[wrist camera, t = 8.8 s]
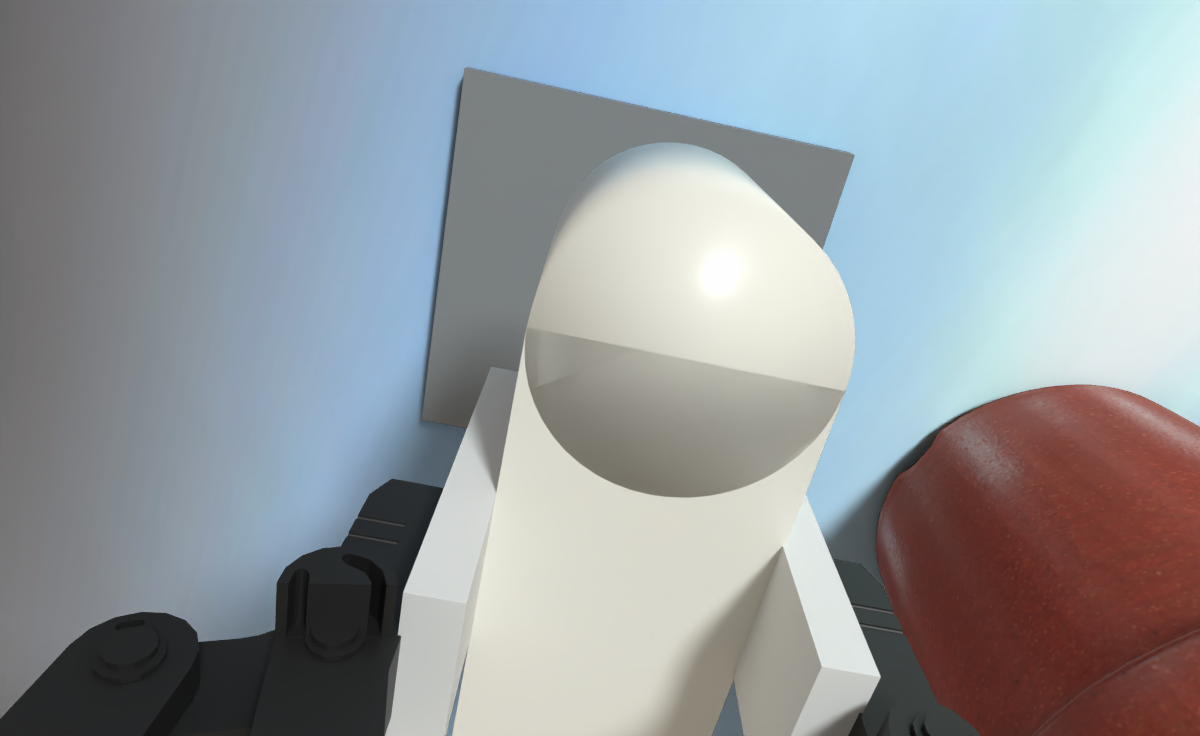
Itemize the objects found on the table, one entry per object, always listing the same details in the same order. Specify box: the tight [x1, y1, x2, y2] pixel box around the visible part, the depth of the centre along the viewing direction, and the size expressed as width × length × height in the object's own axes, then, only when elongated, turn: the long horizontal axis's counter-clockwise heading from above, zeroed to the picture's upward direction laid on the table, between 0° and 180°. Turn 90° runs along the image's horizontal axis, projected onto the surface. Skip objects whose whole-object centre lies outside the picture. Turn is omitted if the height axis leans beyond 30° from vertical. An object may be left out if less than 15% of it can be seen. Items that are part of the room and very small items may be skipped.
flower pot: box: [876, 385, 1200, 736], centre depth 21 cm, size 16×16×16 cm
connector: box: [452, 142, 855, 736], centre depth 14 cm, size 13×4×5 cm, turn 168°
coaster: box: [422, 67, 855, 429], centre depth 25 cm, size 12×12×1 cm
